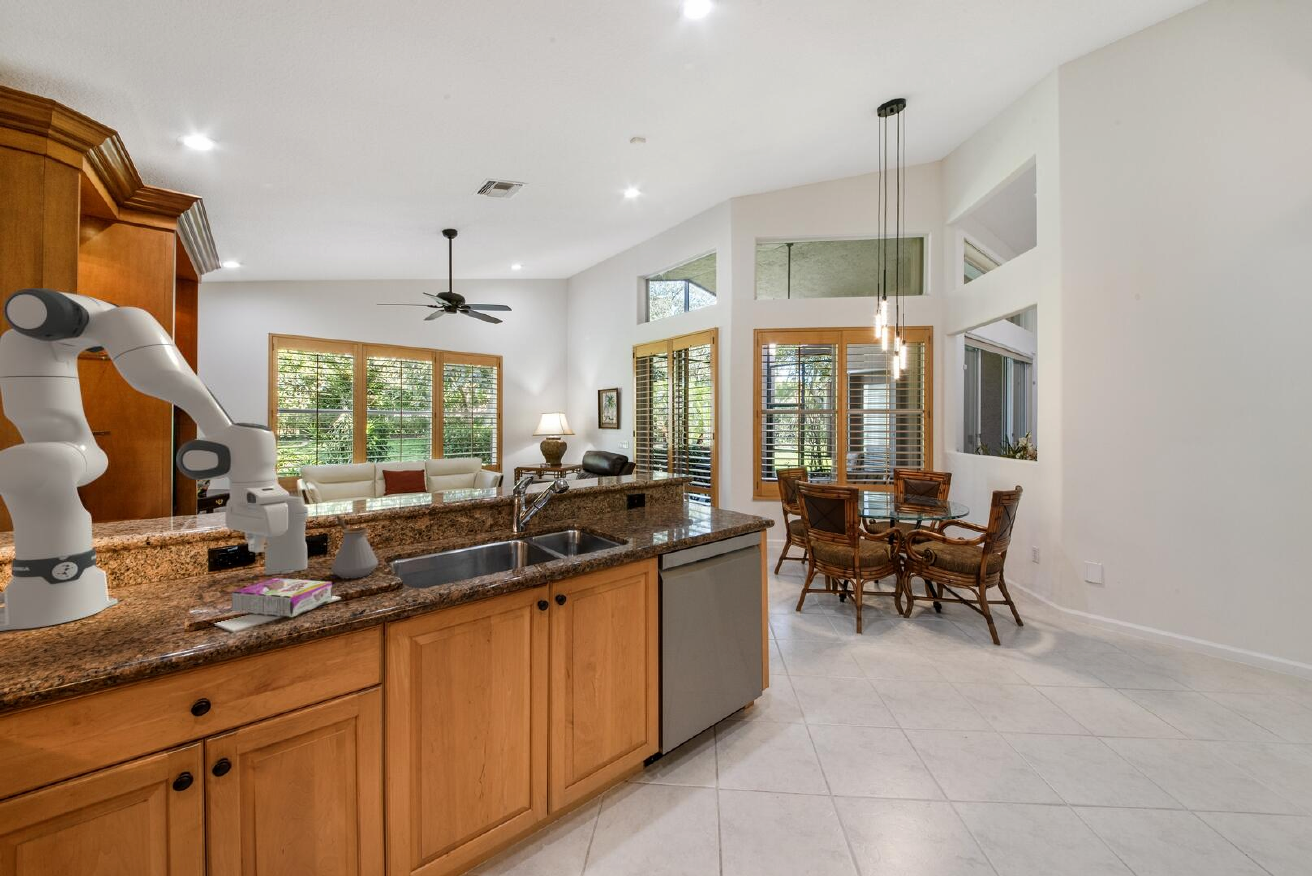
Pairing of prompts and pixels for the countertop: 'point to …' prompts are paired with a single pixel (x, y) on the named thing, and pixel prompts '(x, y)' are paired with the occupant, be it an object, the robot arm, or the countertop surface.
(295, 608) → the candy bar box
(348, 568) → the coffee pot
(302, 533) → the gray flat bottle
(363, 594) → the countertop surface
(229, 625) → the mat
